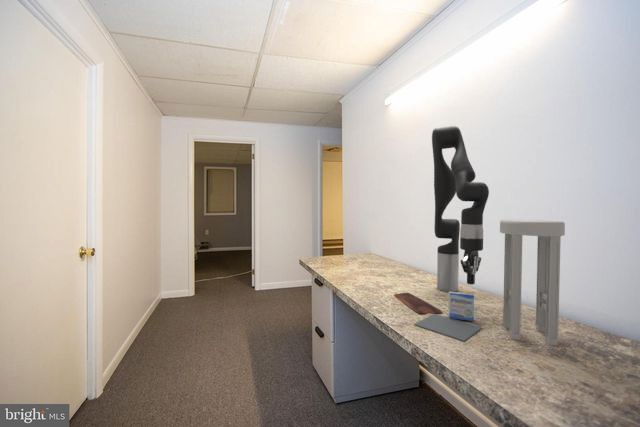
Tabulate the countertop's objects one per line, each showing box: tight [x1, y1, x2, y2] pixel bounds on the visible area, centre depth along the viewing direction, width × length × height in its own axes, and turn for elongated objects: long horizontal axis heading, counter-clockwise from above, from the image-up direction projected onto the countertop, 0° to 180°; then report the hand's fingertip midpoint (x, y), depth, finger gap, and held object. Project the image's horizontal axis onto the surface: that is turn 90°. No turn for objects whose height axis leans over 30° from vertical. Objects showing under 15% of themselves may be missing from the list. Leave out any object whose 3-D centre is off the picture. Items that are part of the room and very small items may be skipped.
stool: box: [499, 219, 566, 346], centre depth 90 cm, size 16×16×35 cm
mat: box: [414, 314, 483, 343], centre depth 96 cm, size 14×16×1 cm
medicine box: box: [448, 291, 475, 322], centre depth 103 cm, size 8×4×9 cm, turn 68°
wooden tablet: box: [393, 292, 444, 316], centre depth 120 cm, size 26×2×10 cm
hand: (470, 283), depth 108 cm, fingers closed
